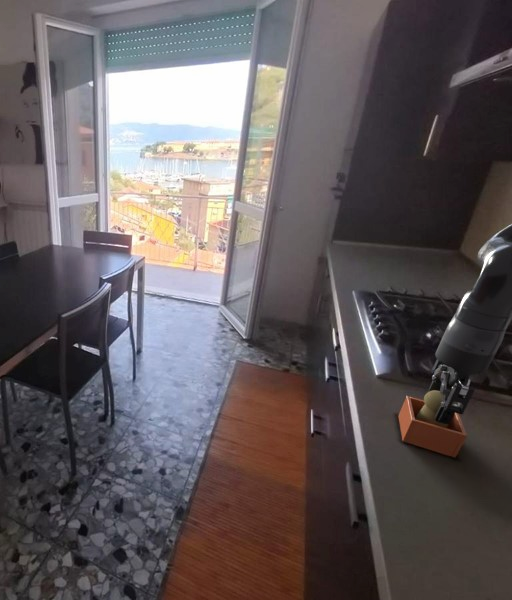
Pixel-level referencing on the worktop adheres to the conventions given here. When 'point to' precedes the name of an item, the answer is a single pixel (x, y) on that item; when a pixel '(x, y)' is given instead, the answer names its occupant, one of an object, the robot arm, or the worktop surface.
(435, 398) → the cork
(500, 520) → the worktop surface
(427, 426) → the box
